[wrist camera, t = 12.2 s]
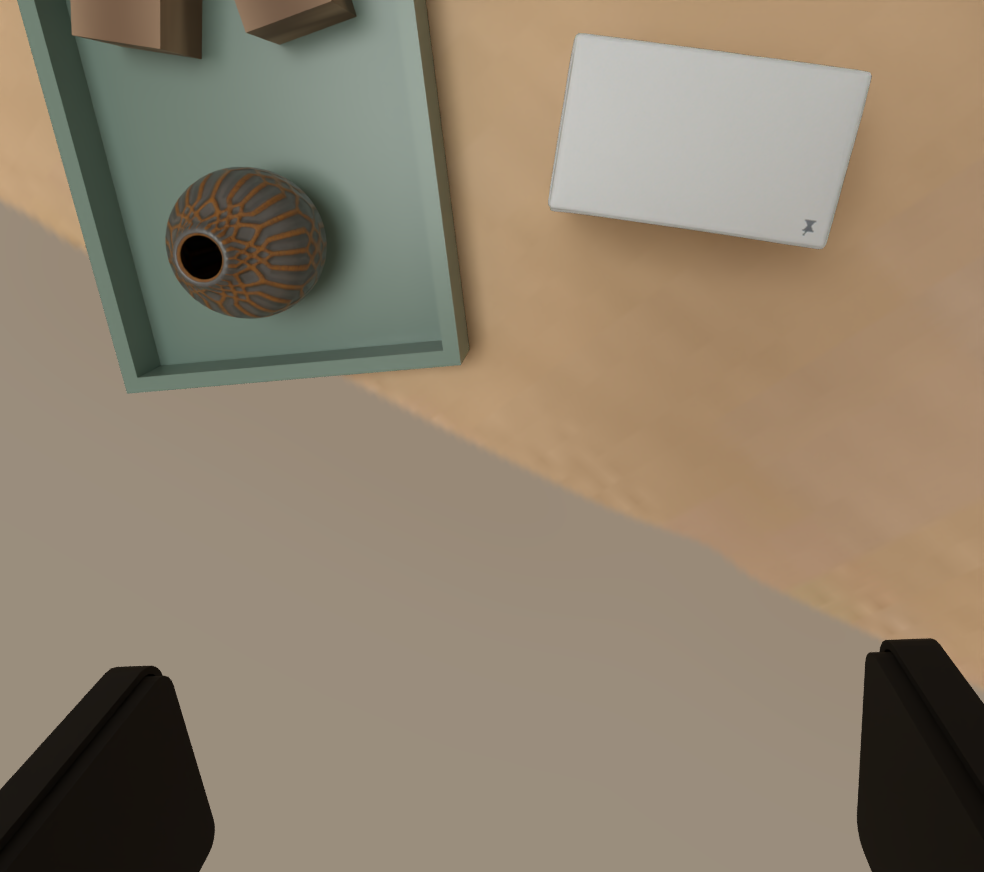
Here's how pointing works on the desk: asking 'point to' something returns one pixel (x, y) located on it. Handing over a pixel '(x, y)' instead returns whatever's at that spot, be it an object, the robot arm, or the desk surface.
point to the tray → (274, 147)
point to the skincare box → (705, 139)
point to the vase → (246, 242)
